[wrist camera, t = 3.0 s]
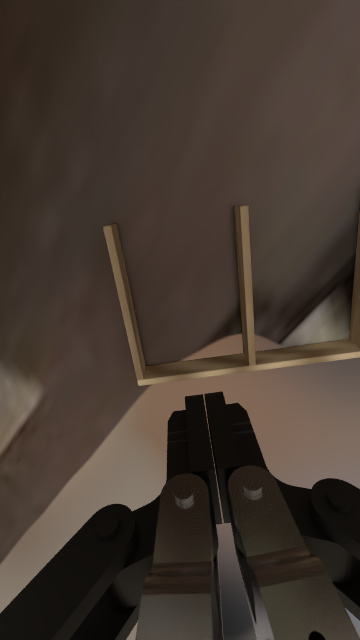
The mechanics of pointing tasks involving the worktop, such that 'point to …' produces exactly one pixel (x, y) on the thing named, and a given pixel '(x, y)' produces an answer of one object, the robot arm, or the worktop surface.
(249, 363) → the bay rack
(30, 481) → the worktop surface
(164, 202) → the worktop surface
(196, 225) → the worktop surface
